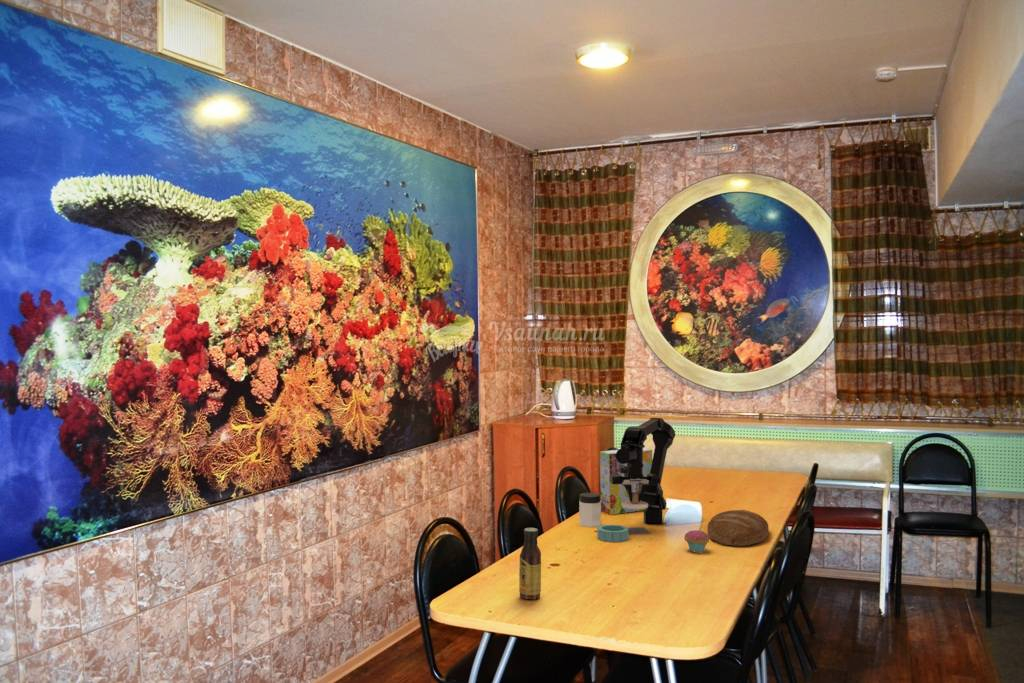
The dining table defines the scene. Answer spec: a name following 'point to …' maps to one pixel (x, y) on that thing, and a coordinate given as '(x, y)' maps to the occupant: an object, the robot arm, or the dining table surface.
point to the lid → (634, 502)
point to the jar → (590, 509)
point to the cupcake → (697, 539)
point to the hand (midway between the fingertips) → (634, 501)
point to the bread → (738, 528)
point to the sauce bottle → (530, 566)
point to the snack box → (616, 492)
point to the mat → (638, 530)
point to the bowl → (612, 533)
